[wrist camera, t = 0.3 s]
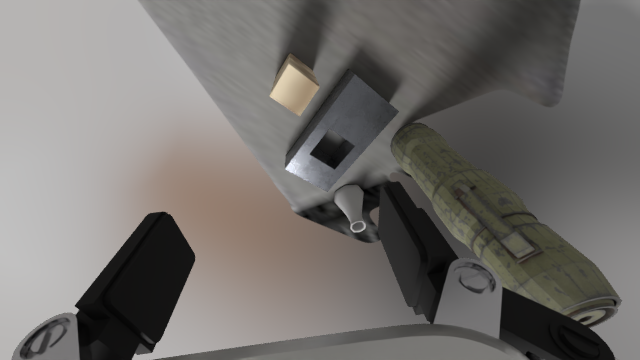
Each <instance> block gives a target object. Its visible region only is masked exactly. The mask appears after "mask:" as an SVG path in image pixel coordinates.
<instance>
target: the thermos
mask: <svg viewBox="0 0 640 360" xmlns="http://www.w3.org/2000/svg"><path fill="white" fill-rule="evenodd" d="M391 152H392V154H393V155H394V157H395V158H396V160H397V162H398V163H399V165H400V166H401V167H402V169H403V170H404V171H406V172H407V173H408V174H410V175H411V176H412V177H413V178H414V179H415V181H416V182H417V183H418V184H419V186H420V187H421V188H422V190H423V191H424V192H425V194H426V195H427V196H428V198H429V199H430V200H431V201H432V204H433V208H434V210H435V212H436V213H437V215H438V216H439V217H440V218H441V220H442V221H443V222H444V224H445V225H446V226H447V228H448V229H449V230H450V232H451V233H452V234H453V236H454V237H455V238H457V239H458V240H460V241H461V242H462V243H464V244H465V245H467V246H468V247H469V249H470V250H471V251H472V252H473V253H474V254H475V255H477V256H478V257H479V259H480V262H481V263H483V264H485V265H487V266H488V267H489V268H491V269H492V270H493V271H494V272H495V273H496V274H497V275H498V277H499V279H500V281H501V283H502V287H505V288H507V289H509V290H511V291H513V292H516V293H518V294H520V295H522V296H524V297H526V298H529V299H531V300H533V301H535V302H537V303H539V304H542V305H544V306H546V307H548V308H550V309H552V310H555V311H557V312H559V313H561V314H563V315H566V316H568V317H570V318H572V319H574V320H576V321H578V322H580V323H582V324H583V325H585V326H587V327H588V328H591V327H594V326H597V325H599V324H601V323H603V322H605V321H607V320H608V319H610V318H611V317H613V316H614V315H615V314H616V313H617V311H618V309H617V308H618V307H619V306H620V304H621V301H622V300H621V299H620V297H619V296H618V295H617V293H616V292H615V290H614V289H613V288H612V286H611V285H610V283H609V282H608V280H607V279H606V278H605V276H604V275H603V274H602V272H601V271H600V270H599V269H598V267H596V265H595V264H594V263H593V262H592V261H590V260H589V259H588V258H587V257H585V256H584V255H583V254H582V253H580V252H579V251H578V250H577V249H575V248H574V247H573V246H572V245H570V244H569V243H568V242H567V241H565V240H564V239H563V238H561V237H560V236H559V235H558V234H557V233H555V232H554V231H553V230H552V229H550V228H549V227H548V226H547V225H544V224H541V223H540V222H538V221H537V218H536V217H535V216H534V215H533V214H532V213H530V212H529V211H528V210H527V208H526V206H525V205H524V203H523V201H522V200H521V198H520V197H519V196H518V195H517V194H516V193H514V192H513V191H512V190H510V189H509V188H508V187H506V186H505V185H504V184H503V183H501V182H500V181H499V180H497V179H496V178H495V177H493V176H492V175H491V174H489V173H488V172H486V171H483V170H480V169H477V168H476V167H474V166H473V165H472V164H471V163H469V162H468V161H467V160H466V159H464V158H463V157H462V156H461V155H459V154H458V153H457V152H456V151H454V150H453V149H452V148H451V147H449V146H448V144H447V142H446V141H445V139H444V138H443V137H442V136H441V135H439V134H438V133H437V132H435V131H434V130H433V129H431V128H428V127H427V126H426V125H424V124H422V123H411V124H408V125H406V126H404V127H402V128H401V129H400V130H399V131H398V132H397V133H396V134H395V135H394V137H393V139H392V142H391Z"/></svg>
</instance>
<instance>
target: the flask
mask: <svg viewBox="0 0 640 360" xmlns="http://www.w3.org/2000/svg"><path fill="white" fill-rule="evenodd" d="M363 194H364V192H363V191H362V190H361V188H360V187H359V186H358V185H345V186H343V187H342V188H340V189H339V190H337V191H336V192H335V200H334V202H335V203H336V204H337V205H338V206H339V207H340V208H341V209H342V211H343V212H344V213H345V214H346V215H347V217H348V219H349V221H350V223H351V230H352V231H353V232H361V231H362V230H364V229H365V228H366V223H365V222H364V221H363V219H362V203H363Z"/></svg>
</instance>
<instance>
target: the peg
mask: <svg viewBox="0 0 640 360" xmlns="http://www.w3.org/2000/svg"><path fill="white" fill-rule="evenodd" d="M318 89H319V84H318V82H317V80H316V77H315V75H314V72H313V70H311V69H310V68H309V67H308V66H306V65H305V64H304V63H302V62H301V61H300V60H299V59H297V58H296V57H295V56H293V55H292V54H291V53H290V54H289V55H288V57H287V59H286V60H285V62H284V64H283V66H282V67H281V69H280V71H279V72H278V74H277V76H276V77H275V81H274V84H273V87H272V90H271V93H270V97H271V98H273V99H274V100H276V101H277V102H279V103H280V104H282V105H283V106H285V107H286V108H288V109H289V110H291V111H292V112H294V113H295V114H297V115H298V116H300V115H301V114H302V112H303V111H304V109H305V108H306V106H307V105H308V103H309V102H310V100H311V99H312V98H313V96H314V95H315V93H316V92H317V90H318Z"/></svg>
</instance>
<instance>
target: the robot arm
mask: <svg viewBox="0 0 640 360" xmlns="http://www.w3.org/2000/svg"><path fill="white" fill-rule="evenodd" d="M378 233H379V237H380V239H381V242H382V244H383V247H384V249H385V252H386V254H387V257H388V259H389V262H390V264H391V266H392V269H393V271H394V274H395V276H396V278H397V281H398V284H399V286H400V289H401V291H402V293H403V296H404V299H405V301H406V303H407V305H408V306H409V307H413V309H414V312H415V314H416V315H419V314H424V315H425V317H426V319H427V321H429V322H430V324H414V325H400V326H391V327H384V328H374V329H366V330H358V331H350V332H343V333H336V334H328V335H321V336H314V337H307V338H300V339H292V340H285V341H278V342H271V343H264V344H257V345H250V346H243V347H236V348H229V349H222V350H216V351H209V352H202V353H195V354H188V355H181V356H175V357H168V358H161V359H155V360H618V359H616V358H615V357H614V355H613V352H612V351H611V350H610V348H609V347H608V345H607V344H606V343H605V342H604V341H603V340H602V339H601V338H600V337H599V336H598V335H597V334H596V333H595V332H593V331H592V330H591V329H590V328H588V327H587V326H585V325H583V324H582V323H580V322H578V321H576V320H574V319H572V318H570V317H568V316H566V315H563V314H561V313H559V312H557V311H555V310H552V309H550V308H548V307H546V306H544V305H542V304H539V303H537V302H535V301H533V300H531V299H529V298H526V297H524V296H522V295H520V294H518V293H516V292H513V291H511V290H509V289H507V288H505V287H502V283H501V281H500V279H499V277H498V275H497V274H496V273H495V272H494V271H493V270H492V269H491V268H489V267H488V266H487V265H485V264H483V263H481V262H479V261H477V260H473V259H468V258H461V259H459V258H458V257H457V255H456V254H455V253H454V251H453V250H452V248H451V247H450V245H449V244H448V243H447V241H446V240H445V238H444V237H443V236H442V234H441V233H440V232H439V230H438V229H437V227H436V226H435V224H434V223H433V222H432V220H431V219H430V217H429V216H428V215H427V213H426V212H425V211H424V210H423V209H422V208H417V207H416V205H415V204H414V202H413V201H412V200H411V198H410V197H409V195H408V194H407V192H406V191H405V189H404V188H403V186H402V185H401V184H400V182H389V183H385V186H383V187H381V193H380V210H379V224H378ZM194 262H195V254H194V252H193V251H192V249H191V247H190V246H189V244H188V242H187V241H186V239H185V237H184V236H183V234H182V232H181V231H180V229H179V227H178V226H177V224H176V223H175V221H174V219H173V217H172V216H171V215H170V214H167V213H166V212H156V213H150V214H148V215H147V216H146V217H145V218H144V220H143V221H142V222H141V223H140V225H139V226H138V227H137V228H136V230H135V231H134V232H133V234H132V235H131V236H130V237H129V238H128V240H127V241H126V242H125V243H124V245H123V246H122V247H121V248H120V250H119V251H118V252H117V253H116V255H115V256H114V257H113V258H112V260H111V261H110V262H109V264H108V265H107V266H106V267H105V268H104V270H103V271H102V272H101V273H100V275H99V276H98V277H97V278H96V280H95V281H94V282H93V283H92V285H91V286H90V287H89V288H88V290H87V291H86V292H85V293H84V295H83V296H82V297H81V299H80V300H79V301H78V302H77V303H76V305H75V307H77V308H78V309H79V311H78V313H77V314H76V315H75V314H73V313H63V314H59V315H56V316H54V317H52V318H50V319H48V320H46V321H45V322H43V323H42V324H40V325H39V326H37V327H36V328H35V329H34V330H33V331H31V332H30V333H29V334H28V335H27V336H26V337H25V338H24V339H23V340H22V341H21V342H20V344H19V345H18V347H17V348H16V349H15V351H14V353H13V356H12V360H132V358H133V356H134V354H135V353H136V354H137V355H140V354H147V353H152V352H153V350H154V347H155V345H156V343H157V342H159V341H160V339H161V338H162V336H163V334H164V331H165V329H166V327H167V324H168V322H169V319H170V317H171V315H172V313H173V310H174V308H175V306H176V304H177V301H178V299H179V296H180V294H181V292H182V290H183V287H184V285H185V283H186V280H187V278H188V276H189V274H190V271H191V269H192V266H193V264H194Z"/></svg>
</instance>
